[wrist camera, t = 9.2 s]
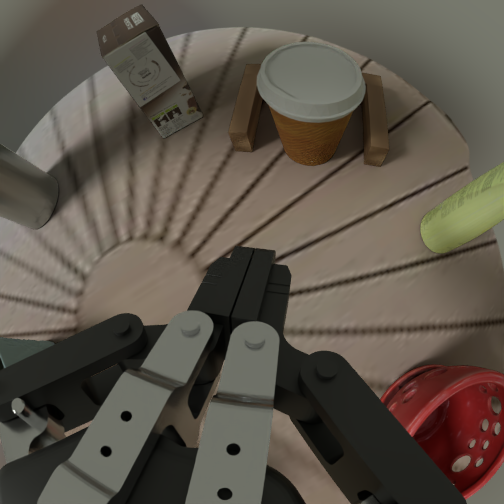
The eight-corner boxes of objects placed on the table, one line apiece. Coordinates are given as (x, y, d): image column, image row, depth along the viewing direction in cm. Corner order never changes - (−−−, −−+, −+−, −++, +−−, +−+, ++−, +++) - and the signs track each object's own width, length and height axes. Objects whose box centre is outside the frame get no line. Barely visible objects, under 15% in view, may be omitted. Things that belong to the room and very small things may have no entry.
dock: (235, 151, 32) (228, 132, 29) (251, 84, 34) (246, 64, 31) (380, 166, 29) (389, 149, 26) (375, 95, 31) (380, 76, 28)
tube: (453, 263, 26) (581, 208, 7) (416, 255, 27) (540, 180, 8) (455, 216, 27) (562, 131, 8) (419, 206, 28) (517, 100, 9)
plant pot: (469, 350, 24) (537, 360, 12) (446, 451, 21) (494, 493, 10) (368, 354, 26) (412, 381, 14) (348, 464, 23) (368, 528, 12)
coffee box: (205, 116, 34) (159, 23, 19) (163, 140, 35) (99, 58, 19) (184, 81, 37) (142, 2, 21) (147, 102, 37) (94, 30, 21)
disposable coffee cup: (260, 122, 33) (243, 50, 21) (332, 106, 32) (339, 34, 20) (282, 188, 31) (272, 121, 19) (362, 168, 30) (387, 99, 18)
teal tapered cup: (34, 328, 32) (-27, 326, 21) (77, 345, 31) (7, 349, 19) (35, 389, 31) (-22, 398, 19) (78, 413, 29) (16, 433, 17)
